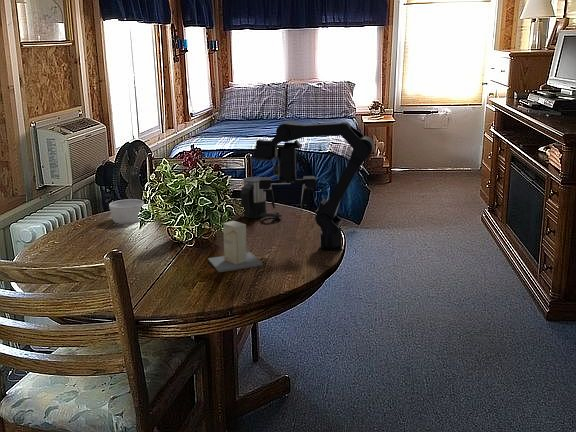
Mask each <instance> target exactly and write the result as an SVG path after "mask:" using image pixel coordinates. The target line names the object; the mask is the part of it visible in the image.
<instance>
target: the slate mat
mask: <svg viewBox="0 0 576 432" xmlns="http://www.w3.org/2000/svg"><path fill="white" fill-rule="evenodd" d="M207 261H208V262H209V263H210V264H211V266H212V267H214V269H215V270H216V271H217V272H218V273H224V272H230V271H231V272H232V271H237V270H243V269H250V268H256V267H262V266H263V265H264V264H263V262H262V261H261V260H260V259H259V258H257V257H256V255H254V254H253V253H252V252H250V251H248V252H247V251H246V262H243V263H240V264H237V265H236V264H233V263H231V262H228V261H226V260H224V255H222V256H221V255H220V256H213V257H209V258H207Z"/></svg>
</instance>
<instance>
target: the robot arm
mask: <svg viewBox="0 0 576 432" xmlns="http://www.w3.org/2000/svg"><path fill="white" fill-rule="evenodd" d="M275 133H276V134H275V136H274V137H273V138H272V139H271V140H268V139H267V140H266V139H265V140H264V139H257V140H256V141H255V148H254V151H253V152H254V153H253V154H254V160H255V161H259V162H260V161H264V162H265V161H266V162H273V161H275V159H277V160H278V161H277V162H278V164H277V165H273V176H277V178H278V179H272V177H271V176H264V177H263V176H259V177H260V178H259V189H263V191H264V192H266V195H267V196H268V197H269V200H270V202H271V205H272V209H275V207H276V205H275V199H274V198H275V197H274V192H273V188H272V187H274V186H301V187H302V189H301V197H300V199H301V200H300V208H301V209H303V207H304V204H305V201H306V198H307V197H308V195H309V192H310V191H313V188H317V186H318V182H317V177H316V176H314V175H304V176H303V178H297V150H296V149H301V148H302V147H303V144H301V143H300V142H299V141H298V140H299V139H303V138H309V137H327V136H328V137H332V136H333V137H334V136H340V137H342V138H343V139H344V140H345V142H346V143H347V144H348V145H349V146H350V147H352V151H351V155H350V158H349V161H348V163H347V165H346V167H345V169H344V171H343V172H342V174H341V176H340V178H339V180H338V182H337V184H336V186H335V187H334V189H333V191H332V193H331V195H330V196H329V198H327V199H325V198H323V199H322V200H321V201H320V203H319V205H318V208H317V209H316V210H315V212H314V214H315V216H314V217H315V218H314V220H315V222H316V225H317V226H319V227H320V230H321V232H320V233H319V246H320V248H321V250H322V251H342V250H343V246H342V228H341V225H342V222H343V220H342V219H341V218H340V217H339V216H338V215H337V212H338V210H339V206H340V204H341V201H342V199H343V197H344V195H345V194H346V191H347V190H348V188H349V186H350V185H351V183H352V181H353V179H354V177H355V175H356V174H357V172H358V171H359V168H360V167H361V166H362V165H363V164H364V162H365V161H366V160H367V159H368V158H369V157H370V155H371V154H372V153H373V151H374V148H375V143H374V140H373V138H371V137H370V136H365V135H364V134H363V133H362V132H360V131H359V130H358V129H356V128H355V127H353V126H352V125H351V123H350V122H348V121H342V122H326V123H325V122H324V123H322V122H321V123H310V124H308V123H301V122H297V121H296V122H295V121H285V122H283V123H281V124H279V125H278V126H277V128H276V131H275ZM283 142H284V144H280V143H283Z"/></svg>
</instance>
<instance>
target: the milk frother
mask: <svg viewBox="0 0 576 432" xmlns="http://www.w3.org/2000/svg"><path fill="white" fill-rule="evenodd" d="M260 177H261V176H248V177H245V178H242V181H243V186H242V188H241V190H240V204H241V206H242V205H243V206H244V208H245V211H244V212H243V213H242V214H243V216H244V218H249V219H262V218H264V217H265V218H266V217H268V218H274V220H279V219H280V218H282V217H283V216H282V214H280V213H279V212H277V211H276V212H274V213H267V192H264V191H263V189H259V178H260Z"/></svg>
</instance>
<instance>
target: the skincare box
mask: <svg viewBox="0 0 576 432" xmlns="http://www.w3.org/2000/svg"><path fill="white" fill-rule="evenodd" d="M222 225H223V256H224V260H226V261H228V262H231V263H233V264H236V265H237V264H240V263H243V262H246V252H247V223H246V224H245V223H243V222H239V221H235V220H229V221H227V222H223V224H222Z"/></svg>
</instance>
